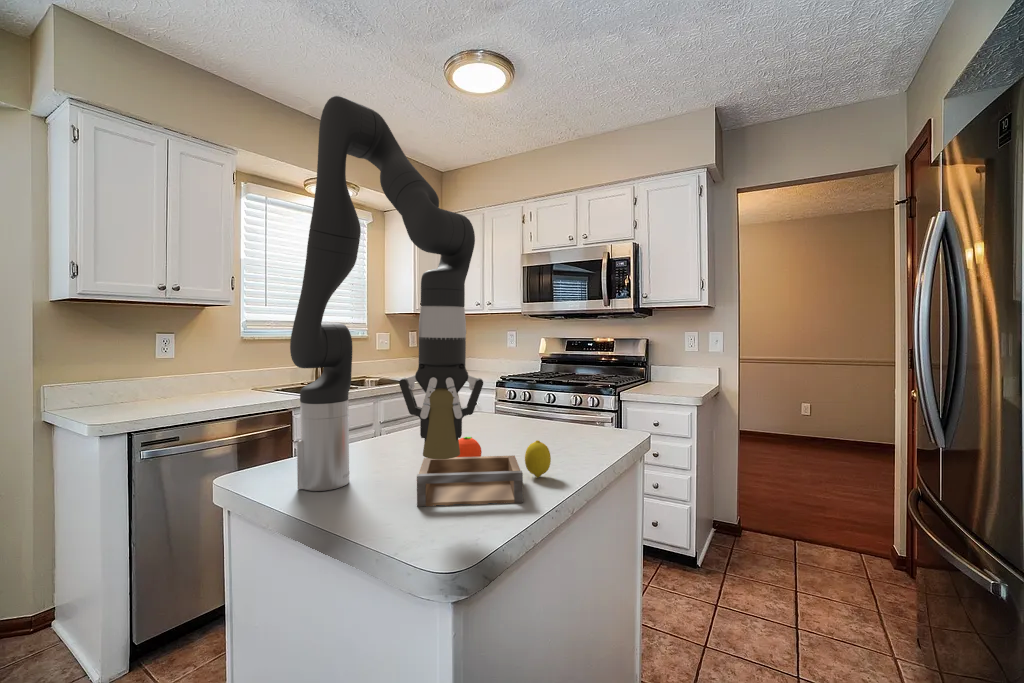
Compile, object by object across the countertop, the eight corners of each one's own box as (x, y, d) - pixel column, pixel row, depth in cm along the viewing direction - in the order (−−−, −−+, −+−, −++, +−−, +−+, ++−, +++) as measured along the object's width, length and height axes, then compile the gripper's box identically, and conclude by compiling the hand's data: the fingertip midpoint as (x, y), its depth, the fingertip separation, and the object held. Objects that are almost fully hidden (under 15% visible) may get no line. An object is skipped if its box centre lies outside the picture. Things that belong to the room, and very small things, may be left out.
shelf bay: (417, 506, 86) (416, 476, 86) (424, 482, 100) (423, 455, 100) (522, 502, 88) (522, 472, 88) (514, 478, 102) (514, 453, 102)
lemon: (550, 474, 106) (550, 437, 105) (550, 481, 100) (550, 443, 100) (525, 473, 106) (525, 437, 106) (523, 481, 101) (523, 443, 100)
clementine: (458, 461, 116) (458, 432, 116) (486, 463, 115) (486, 433, 115) (447, 470, 108) (447, 439, 108) (477, 472, 107) (476, 440, 107)
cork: (424, 449, 81) (425, 384, 81) (460, 449, 82) (461, 384, 81) (420, 459, 75) (421, 389, 75) (459, 459, 76) (460, 389, 75)
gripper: (394, 335, 73) (393, 447, 74) (487, 336, 75) (486, 446, 75) (400, 334, 81) (400, 435, 81) (485, 335, 82) (484, 435, 83)
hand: (441, 440), depth 78 cm, fingers closed on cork, 4 cm apart
